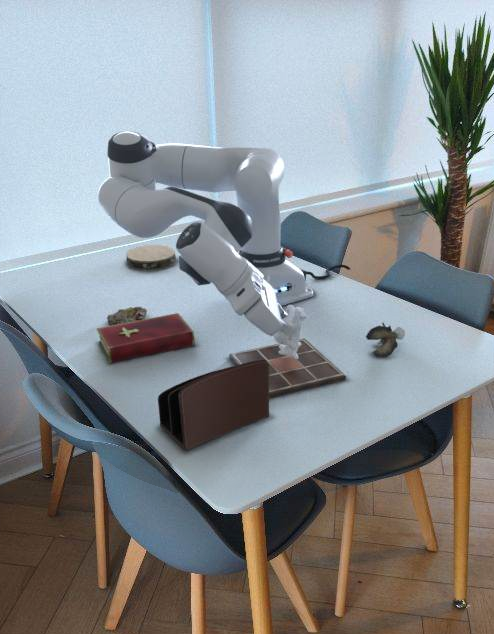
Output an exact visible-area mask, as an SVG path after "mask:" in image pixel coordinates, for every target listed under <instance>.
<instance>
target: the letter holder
mask: <svg viewBox="0 0 494 634" xmlns="http://www.w3.org/2000/svg"><path fill="white" fill-rule="evenodd" d="M157 406H158V415H159V416H158V417H159V427H160V428H161V429H162V430H163V431H164V432H165V433H166V434H167V435H168V436H169V437H170V438H171V439H172V440H173V441H174V442H175V443H176V444H177V445H178V446H179V447H180V448H181V449H183V450H184V451H185V452H186V451H189V450H191V449H194V448H196V447H198V446H201V445H203V444H205V443H207V442H210V441H212V440H215V439H218V438H220V437H223V436H225V435H227V434H230V433H232V432H235V431H237V430H240V429H242V428H245V427H248V426H250V425H252V424H255V423H257V422H260V421H262V420H265V419H267V418H269V417H270V398H269V363H268V362H267V360H264V359H263V360H257V361H252V362H247V363H244V364H240V365H236V366H235V365H233V366H228V367H223V368H221V369H217V370H213V371H210V372H207V373H203V374H201V375H197V376H195V377H192V378H190V379H188V380H187V379H186V380H185V381H183V382H180V383H177V384H175V385H173V386H171V387H169V388H168V389H166V390H164V391H162V392H161V393H159V395H158V396H157Z"/></svg>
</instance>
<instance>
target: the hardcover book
mask: <svg viewBox="0 0 494 634" xmlns="http://www.w3.org/2000/svg"><path fill="white" fill-rule="evenodd" d="M96 332H97V333H98V335H99V340H98V344H99V346H100V348H101V350H102V351H103V354H104V355H105V357H106V359H107V361H108V363H109V364H113V363H118V362H123V361H127V360H132V359H138V358H141V357H147V356H152V355H156V354H160V353H165V352H169V351H170V352H171V351H175V350H180V349H185V348H189V347H194V346H195V344H196V341H195V331H194V330H193V328H192V327H191V326H190V325H189V324H188V323H187V322H186V320H185V319H184V318H183V317H182V315H180V313H179V312H176V313H170V314H165V315H160V316H155V317H149V318H144V319H143V320H138V321H133V322H128V323H122V324H117V325H113V324H111V325H107V326H102V327H97V328H96Z"/></svg>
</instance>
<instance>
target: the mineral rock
mask: <svg viewBox="0 0 494 634" xmlns="http://www.w3.org/2000/svg"><path fill="white" fill-rule="evenodd" d="M147 313H148V310H147V309H146V308H144V307H142V306H135V307H132V306H130V307H128V308H120V309H118V310H117V311H116V312H114V313H112V314H108V315H107V317H106V320H107V323H108V325H117V324H122V323H128V322H133V321H138V320H144V319H146V316H147Z"/></svg>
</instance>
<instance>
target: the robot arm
mask: <svg viewBox="0 0 494 634" xmlns="http://www.w3.org/2000/svg"><path fill="white" fill-rule="evenodd" d="M106 156H107V158H108V171H109V172H108V173H109V177H108V178H106V179H105V180H104V181H103V182H102V183H101V185H100V186H99V189H98V192H97V199H98V203H99V206H100V208H101V209H102V210H103V211H104V212H105V214H106V215H107V216H108V217H109V218H110V220H112V221H113V222H114V223H115V224H117V225H118V226H119V227H120V228H122V229H123V230H124V231H125V232H128V233H129V234H131V235H133V236H135V237H136V238H140V239H141V238H142V239H150V238H153V237H156V236H158V235H160V234H162V233H163V232H165V231H166V230H167V229H169V228H170V227H171V226H172V225H173V224H176V222H178V221H179V220H181V219H183V218H185V217H190V216H191V217H195V218H198V219H200V220H203V221H204V222H202V221H195V222H192V223H191V224H189V225H188V226H186V227H185V228H184V229H183V230H182V232H181V233H180V234H179V236H178V238H177V241H176V243H175V249H176V251H177V252H178V253H179V255H178V266H179V270H180V271H182V272H183V273H185V274H186V275H187V276H188V277H189V278H191V280H193V281H194V283H195V284H196V285H197V286H206V285H211V284H213V285H214V287H215V288H216V290H217V291H218V292H219V293H220V295H222V296H223V297H224V298H225V300H226V301H228V302H229V304H230V306H231V307H232V309H233V311H234V313H236V314H237V315H238V316H241V317H242V316H244V317H245V319H246V320H247V321H248V322H250V323H251V324H252V325H253V326H255V327H256V328H257V329H258V330H260V331H261V332H263V334H265V335H268V336H270V337H274V334H275V333H276V332H278V331H282V332H283V333H284V334H285V335H289V334H290V333H291V332H292V328H291V326H289V325H288V324H287V323H285V322H283V321H282V319H283V318H285V317H286V316H287V315H288V314H287V312H286V310H284V309H283V307H282V306H286V305H290V304H292V303H296V302H299V301H303V300H306V299H310V298H313V297H314V290H313V288H312V287H311V286H310V285H309V284H308V283H306V281H307V275H309V276H311V278H312V279H315V280H324V279H328V278H330V277H331V273H330V271H332V270H335V269H340V268H344V269H346V270H348V271H349V270H351V268H350V267H349V266H348V265H346V264H337V265H332V266H330V267H328V268H326V269H325V275H319V276H318V275H315V274H314V273H313V272H312V271H307V270H305V269H302V268H300V267H298V266H296V265H295V264H293V262H291V261H289V260H288V259H291V258H293V256H294V252H293V250H290V249H288V248H285V247H284V246H281V242H282V241H281V239H282V236H281V235H282V232H281V231H282V229H281V228H282V219H281V213H280V212H281V211H280V195H279V193H280V192H279V191H280V185H281V183H282V182H283V179H284V176H285V165H284V162H283V159H282V157H281V155H280V154H279V153H278V152H277V151H275V150H273V149H271V148H268V147H267V148H266V147H261V148H260V147H217V146H216V147H215V146H206V145H197V144H190V143H189V144H188V143H187V144H186V143H162V144H161V143H160V144H155V143H154V142H153V141H151V140H149V138H147V137H146V136H145V135H143V134H141V133H139V132H136V131H132V130H131V131H130V130H127V131H126V130H125V131H119V132H116V133H115V134H113V135H112V136H111V137H110V138H108V140H107V145H106ZM156 184H160V185H164V186H167V187H164V188H160V189H156ZM189 190H190V191H189ZM191 191H198V192H206V193H221V192H235V196H236V204H237V205H235V204H233V203H230V202H225V201H219V200H216V199H212V198H209V197H206V196H203V195H201V194H197V193H195V192H191ZM237 252H238V253H239V254H238V253H237ZM287 258H288V259H287Z"/></svg>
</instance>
